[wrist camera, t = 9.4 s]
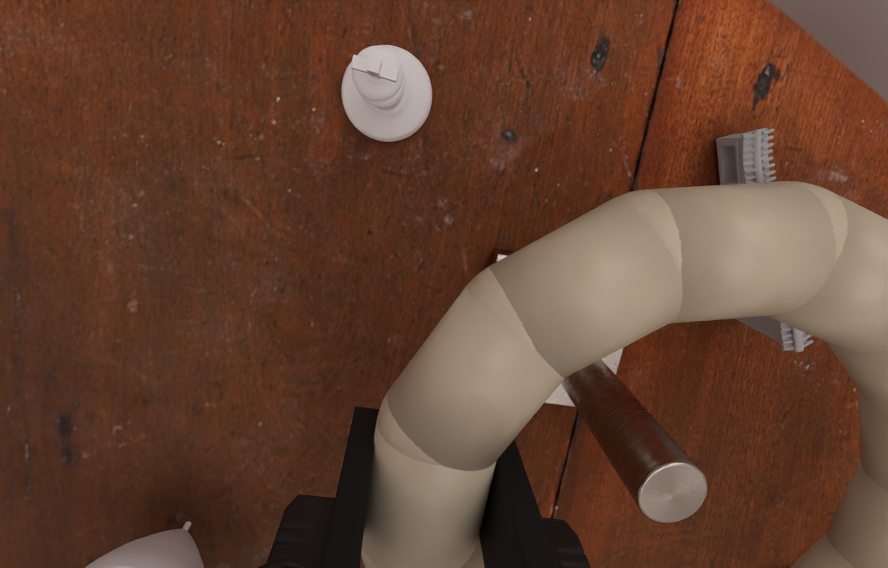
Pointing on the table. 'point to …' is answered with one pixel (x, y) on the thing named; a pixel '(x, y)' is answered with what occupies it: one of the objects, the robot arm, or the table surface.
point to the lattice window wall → (750, 164)
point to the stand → (632, 439)
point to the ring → (619, 324)
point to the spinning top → (155, 552)
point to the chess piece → (386, 93)
